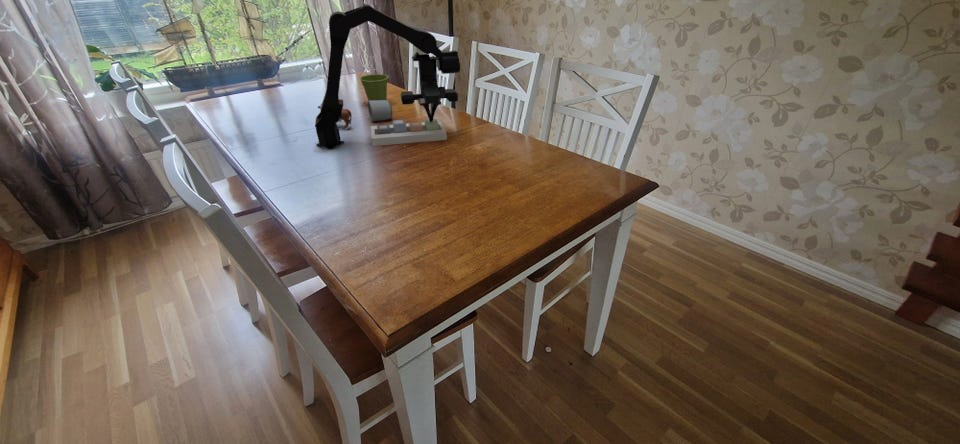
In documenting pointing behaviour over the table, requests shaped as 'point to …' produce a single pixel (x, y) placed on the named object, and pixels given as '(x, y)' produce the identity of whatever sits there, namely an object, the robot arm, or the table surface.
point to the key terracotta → (415, 127)
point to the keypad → (408, 135)
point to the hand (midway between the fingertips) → (431, 121)
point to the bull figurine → (344, 117)
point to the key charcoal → (383, 129)
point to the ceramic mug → (379, 110)
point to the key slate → (399, 126)
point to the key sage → (431, 125)
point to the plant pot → (375, 86)
